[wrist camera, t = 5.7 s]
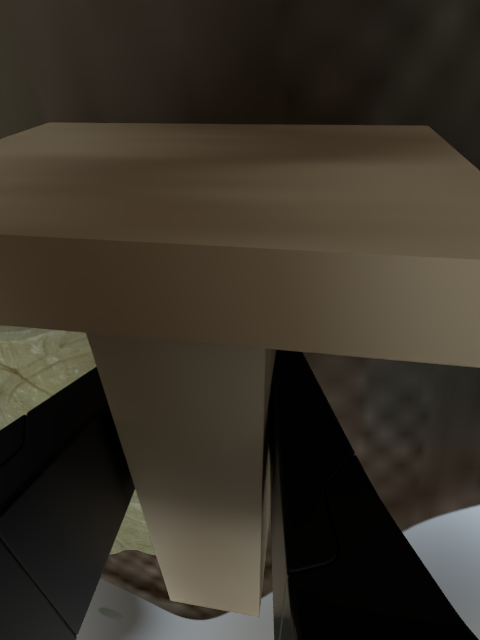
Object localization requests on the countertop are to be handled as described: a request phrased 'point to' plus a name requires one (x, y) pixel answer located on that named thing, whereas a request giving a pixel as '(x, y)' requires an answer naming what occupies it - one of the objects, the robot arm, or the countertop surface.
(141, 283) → the wooden t-shaped block
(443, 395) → the countertop surface
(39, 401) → the decorative tile
